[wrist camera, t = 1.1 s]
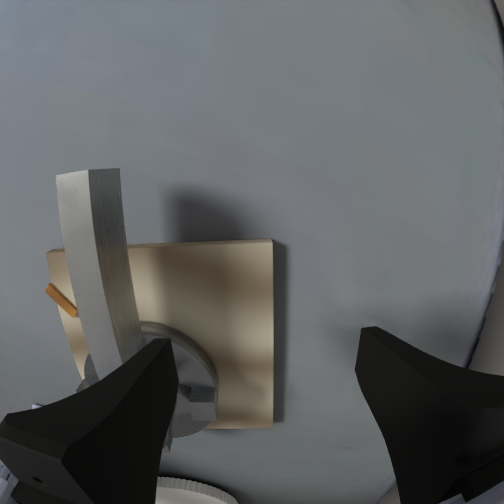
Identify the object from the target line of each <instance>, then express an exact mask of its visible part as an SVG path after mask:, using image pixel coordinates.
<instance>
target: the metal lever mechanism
mask: <svg viewBox="0 0 504 504" xmlns="http://www.w3.org/2000/svg"><path fill="white" fill-rule="evenodd" d="M56 185H57V197H58V207H59V215H60V223H61V231H62V237H63V244H64V250H65V255H66V261H67V266H68V271H69V276H70V281H71V285H72V290H73V294H74V298H75V302H76V306H77V310H78V314H79V318H80V321H81V325H82V329H83V332H84V335H85V339H86V342H87V345H88V348H89V351H90V352H89V354H88V355H87V358H86V361H85V365H84V376H85V379H83V381H82V382H81V384H80V385H79V387H78V389H77V390H76V391H77V393H78V392H80V391H82V390H84V389H86V388H88V387H89V386H91V385H93V384H95V383H96V382H98V381H100V380H101V379H103V378H104V377H106V376H107V375H109V374H110V373H111V372H113V371H114V370H116V369H117V368H118V367H120V366H121V365H122V364H124V363H125V362H126V361H127V360H129V359H130V358H131V357H132V356H134V355H135V354H136V353H137V352H139V351H140V350H141V349H142V348H143V347H145V346H146V345H147V344H148V343H149V342H151V341H152V340H153V339H155V338H171V343H172V349H173V354H174V359H175V363H176V368H177V373H178V378H179V385H178V392H177V398H176V403H175V407H174V410H173V414H172V417H171V421H170V424H169V427H168V431H167V434H166V438H165V441H164V445H163V448H162V452H170V448H171V443H172V438H178V437H184V436H188V435H191V434H194V433H196V432H198V431H200V430H202V429H203V428H204V427H206V426H207V425H208V424H209V423H210V422H211V421H217V414H218V391H219V378H218V373H217V370H216V368H215V365H214V364H213V362H212V360H211V358H210V357H209V356H208V354H207V353H206V352H205V351H204V350H203V349H202V347H201V346H200V345H198V344H197V343H196V342H195V341H194V340H192V339H191V338H190V337H188V336H187V335H185V334H183V333H182V332H180V331H178V330H176V329H173V328H171V327H169V326H166V325H163V324H159V323H155V322H150V321H140V320H139V315H138V310H137V305H136V300H135V294H134V289H133V283H132V277H131V270H130V264H129V257H128V250H127V242H126V234H125V225H124V216H123V206H122V194H121V181H120V168H112V169H93V170H84V171H78V172H73V173H67V174H62V175H57V176H56Z"/></svg>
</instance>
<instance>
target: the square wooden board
mask: <svg viewBox="0 0 504 504" xmlns="http://www.w3.org/2000/svg"><path fill="white" fill-rule="evenodd" d="M127 250H128V257H129V264H130V270H131V277H132V283H133V289H134V294H135V300H136V305H137V310H138V315H139V320H140V321H150V322H155V323H159V324H163V325H166V326H169V327H171V328H173V329H176V330H178V331H180V332H182V333H183V334H185V335H187V336H188V337H190V338H191V339H192V340H194V341H195V342H196V343H197V344H198V345H200V346H201V347H202V349H203V350H204V351H205V352H206V353H207V354H208V356H209V357H210V358H211V360H212V362H213V364H214V365H215V368H216V370H217V373H218V378H219V391H218V414H217V421H211V422H210V423H209V424H208V425H207V426H206V427H204V428H203V429H244V428H267V427H273V370H274V322H273V242H272V240H271V239H250V240H225V241H202V242H180V243H158V244H138V245H127ZM46 256H47V261H48V266H49V271H50V275H51V280H52V284H53V285H52V284H51V283H50V284H49V285H48V287H47V289H46V291H45V292H46V293H47V294H48V295H49V296H50V297H51V298H52V299H53V300H54V301H55V302H56V303H57V304H58V308H59V312H60V315H61V319H62V322H63V326H64V329H65V332H66V335H67V338H68V341H69V344H70V347H71V350H72V353H73V356H74V359H75V362H76V364H77V367H78V370H79V372H80V375H81V377H82V380H83V379H85V376H84V365H85V361H86V358H87V355H88V354H89V352H90V351H89V348H88V345H87V342H86V339H85V335H84V332H83V329H82V325H81V321H80V318H79V314H78V310H77V306H76V302H75V298H74V294H73V290H72V285H71V281H70V276H69V271H68V266H67V261H66V255H65V250H64V249H52V250H51V251H49V252H47V253H46Z"/></svg>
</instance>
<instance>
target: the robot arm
mask: <svg viewBox="0 0 504 504" xmlns="http://www.w3.org/2000/svg"><path fill="white" fill-rule="evenodd" d="M355 372H356V376H357V379H358V382H359V385H360V388H361V391H362V393H363V395H364V397H365V399H366V401H367V403H368V405H369V407H370V409H371V411H372V414H373V416H374V418H375V420H376V422H377V424H378V426H379V428H380V430H381V432H382V435H383V437H384V439H385V442H386V445H387V449H388V452H389V455H390V458H391V462H392V465H393V469H394V473H395V477H396V481H397V486H398V491H399V496H400V502H401V504H504V376H499V375H493V374H486V373H482V372H477V371H473V370H469V369H466V368H462V367H459V366H456V365H453V364H451V363H448V362H445V361H443V360H440V359H438V358H436V357H433V356H431V355H429V354H427V353H425V352H423V351H421V350H419V349H417V348H415V347H413V346H411V345H410V344H408V343H406V342H404V341H402V340H401V339H399V338H397V337H395V336H394V335H392V334H390V333H388V332H386V331H385V330H383V329H381V328H379V327H376V326H374V327H366V328H361V335H360V341H359V348H358V354H357V360H356V366H355ZM178 385H179V378H178V373H177V368H176V363H175V359H174V354H173V349H172V343H171V338H155V339H153V340H152V341H151V342H149V343H148V344H147V345H146V346H145V347H143V348H142V349H141V350H140V351H139V352H137V353H136V354H135V355H134V356H132V357H131V358H130V359H129V360H127V361H126V362H125V363H124V364H122V365H121V366H120V367H118V368H117V369H116V370H114V371H113V372H111V373H110V374H109V375H107V376H106V377H104V378H103V379H101V380H100V381H98V382H96V383H95V384H93V385H91V386H89V387H88V388H86V389H84V390H82V391H80V392H78V393H76V394H73V395H71V396H69V397H67V398H65V399H62V400H60V401H57V402H54V403H51V404H48V405H45V406H39V405H36V404H33V405H32V409H31V410H26V411H21V412H15V413H9V414H7V415H6V416H5V418H4V419H3V420H2V422H1V423H0V460H1V461H2V462H3V463H4V464H5V465H0V504H155V502H156V490H157V480H158V472H159V465H160V458H161V453H162V448H163V445H164V441H165V438H166V434H167V431H168V427H169V424H170V421H171V417H172V414H173V410H174V407H175V403H176V398H177V392H178Z"/></svg>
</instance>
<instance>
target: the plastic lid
mask: <svg viewBox="0 0 504 504" xmlns="http://www.w3.org/2000/svg"><path fill="white" fill-rule="evenodd" d="M155 504H238V502H237V500H235V498H234V497H233V496H231V495H229V494H228V493H225V491H221V489H217V488H216V487H212V486H208V485H207V484H202V483H197V482H196V481H194V482H193V481H191V480H186V479H180V478H177V479H176V478H169V477H167V478H165V477H158V480H157V490H156V502H155Z"/></svg>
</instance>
